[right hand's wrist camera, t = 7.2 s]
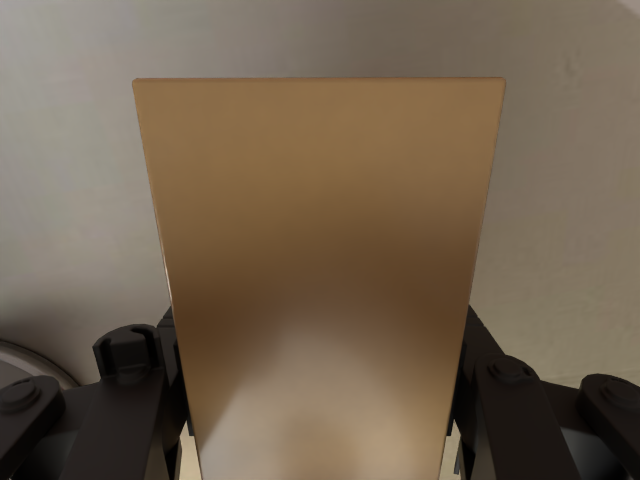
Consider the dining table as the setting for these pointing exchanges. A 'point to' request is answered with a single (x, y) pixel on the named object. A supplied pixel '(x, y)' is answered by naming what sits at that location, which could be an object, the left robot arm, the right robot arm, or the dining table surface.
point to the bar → (319, 263)
